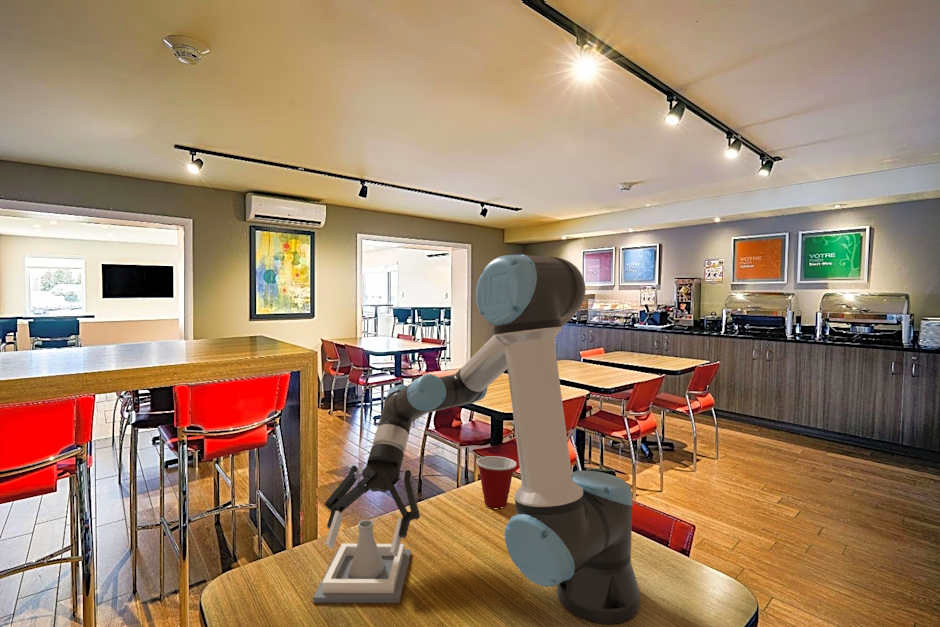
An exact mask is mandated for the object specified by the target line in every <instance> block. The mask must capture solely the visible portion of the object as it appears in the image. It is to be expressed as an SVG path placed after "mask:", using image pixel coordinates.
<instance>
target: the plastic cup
mask: <svg viewBox="0 0 940 627" xmlns="http://www.w3.org/2000/svg"><path fill="white" fill-rule="evenodd" d="M476 465H477V467H478V471H479V476H480V477H479V478H480V483H481V489H482V494H483V502H484V504H485V506H486V505H487V506H488V507H490V508H501V507H504V506H505V505H506V506H507V504H508V500H509V494H510V488H511V483H512V479H513V475H514V471H515V468H516V466H517V461H516V460H513V459H512V458H508V457H506V456H496V455H494V456H492V455H491V456H489V455H488V456H487V455H486V456H482V457H479V458H477V459H476ZM487 506H486V507H487ZM506 506H505V507H506ZM488 507H487V508H488ZM505 507H504V508H505ZM490 508H489V509H490Z"/></svg>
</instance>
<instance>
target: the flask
mask: <svg viewBox="0 0 940 627" xmlns="http://www.w3.org/2000/svg"><path fill="white" fill-rule="evenodd" d="M374 524H375V521H374V520H372V519H362V520H361V521H358V523H357V528H358V530H359V534H358V542H357V543H356V544H357V548H356V551H355V554H354V557H353V560H352V563H351V566H350V569H349V574H348V577H351V578H353V579H375V578H376V577H378V576H379V575H380V574H382V573H383V570H384V562H383V560H382V557H381V555H380V553H379V550H378V548H377V545H376V544H377V542H376V540H375V537H374V536H375V535H374V532H373V530H374V529H373V527H374Z"/></svg>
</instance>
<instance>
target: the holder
mask: <svg viewBox="0 0 940 627" xmlns="http://www.w3.org/2000/svg"><path fill="white" fill-rule="evenodd" d="M357 544H358V543H348V542H347V543H345V542H343V543H341V545H340V547H339V548H338V549H337V550H336V551H335V554H334V556H333V557H332V559H331V561H330V564H329V566H328V567H327V569H326V570H325V574H324V576H323V578H322V579H321V581H320V583H319V585H318V587H317V588H316V591H315V593H314V595H313V597H312V600H313V602H312V603H313V604H315V603H316V604H318V603H320V604H321V603H322V604H323V603H324V604H325V603H327V604H328V603H329V604H330V603H331V604H334V603H335V604H337V603H338V604H400V602H401V599H402V594H403V589H404V585H405V580H406V577H407V576H406V575H407V573H408V567H409V564H410V558H411V554H412V551H411V549H410V548H408V549H407V548H406V549H405V544H404V543H400V546H399V551H398V555H397V556H393V555H392V554H391V553H390V550H391V546H392V543H376V545H377V548H378V550H379V553H380V555H381V557H382V560H383V562H384V570H383V573H382V574H380V575H379V576H378V577H376V578H375V579H353V578H351V577H348V574H349V569H350V566H351V563H352V560H353V557H354V554H355V551H356V548H357Z"/></svg>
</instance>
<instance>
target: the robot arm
mask: <svg viewBox="0 0 940 627" xmlns="http://www.w3.org/2000/svg"><path fill="white" fill-rule="evenodd" d="M584 279H585V278H584V277H583V275H582V272H581V271H580V270H579V268H578V267H577V266H576V265H575V264H574V263H572V262H570V261H569V260H567V259H564V258H562V257H557V256H548V257H547V256H538V255H526V254H523V253H517V254H509V255H507V254H506V255H501V256H498V257H496V258H494V259H492V260H491V261H490V262H489V263H488V264H487V265H486V266H485V267H484V269H483V272H482V273H481V274H480V275H479V278H478V280H477V284H476V290H475V292H476V294H475V299H476V300H475V302H476V306H477V309H478V311H479V313H480V315H482V316H483V319H484V320H485V321H486V322H488V323H490V324H492V325H493V332H494V334H493V335H492V336H491V337H490V338H489V340H487V341H486V342H485V343H484V345H483V346H482V347H480V348H479V350H477V352H475V353H474V355H473V356H471V357H470V359H469V360H468V361H467V362H465V364H463V366H462V367H461V368H460V369H458V371H456V372H455V373H454V374H450V375H449V374H448V375H444V376H443V375H442V376H437V375H434V374H431V373H427V374H424V375H422V376H419V377H417V378H415V379H414V380H412V382H410V384H408V385H405V384H397V385H393V386H392V387H389V390H388V392H387V394H386V396H385V399H384V403H383V407H382V412H381V415H380V417H379V420H378V425H377V428H376V431H375V435H374V437H373V441H372V446H371V448H370V452H369V454H368V458H367V462H366V466H364V469H363V468H361V467H360V468H359V467H357V465H352V466H351V468H350V470H349V472H348V474H347V476H346V477H345V478H344V479H343V481H341V483H340V484H339V486H337V487H336V489H335V490H334V491H333V492H332V494H331V495H329V497H328V498H327V499H326V501H325V503H324V506H325V507H326V508H327V509H328V510H329V511H330V515H329V518H328V520H327V526H326V527H327V528H328V529H329V530H328V533H327V536H326V540H325V543H324V545H325V546H326V547H328V548H329V549H331V550H333V549H334V547H335V544H336V540H337V539H338V538H337V537H338V534H339V531H340V529H341V524H342V522H343V518H344V515H343V514H342V512H343V511H344V510H346V509H347V508H349V506H351V505H352V504H353V503H354V502H355V501H356V500H357V499H359V498H360V497H361V496H363V495H364V494H366V493H368V492H369V491H371V492H380V493H386V492H389V493H390V494H391V496H392V498H393V500H394V502H395V504H396V506H397V508H398V510H399V512H400V514H401V516H402V517H397V519H396V526H395V530H394V534H393V537H392V543H391V544H392V546H391V550H390V553H391V554H392V555H393V556H397V555H398V551H399V546H400V544H401V542H402V538H403V539H405V538H406V537H407V534H408V530H409V526H410V523H411V521H413V520H419V519H420V518H421V514H420V510H419V505H418V503H417V498H416V493H415V491H414V486H413V481H414V475H413V474H412V472H411V470H410V469H406V471H405V472H404V471H403V472H401V468H402V465H403V461H404V457H405V451H406V448H407V443H408V440H409V436H410V431H411V429H412V423H413V422H414V421H416V420H417V419H420V418H421V417H422V416H425V415H427V414H429V413H433V412H434V413H435V412H437V411H441V410H446V409H450V408H455V407H460V406H464V405H470V404H474V403H476V402H478V401H481V400H483V399H484V398H485V397H486V395H487V391H488V387H490V385H491V384H492V383H493V382H494V381H496V380H497V379H498V378H499V377H500V376H501V375H502V374H503V373H504V372H506V371H507V375H508V382H509V391H510V400H511V408H512V416H513V417H512V418H513V424H514V433H515V441H516V447H517V456H518V464H519V472H520V473H519V474H520V480H521V485H520V486H519V487H518V488H517V490H516V491H515V493H514V494H513V495H514V506H515V513H516V514H515V515H513V516H511V517H510V519H508V522H507V524H506V525H505V529H504V541H505V546H506V549H507V552H508V554H509V557H510V559H511V561H512V562H513V564H514V565H515V567H516V568H518V570H519V572H520V573H521V574H522V575H524V577H525V578H527V579H528V580H529V581H530V582H532V583H534V584H536V585H537V586H541V587H547V588H549V587H556V592H557V593H556V594H557V597H558V599H559V601H560V603H561V604H562V605H563V607H564V608H565V609H567V610H568V611H569V612H570V613H572V614H573V615H575V616H577V617H579V618H581V619H583V620H586V621H589V620H590V622H592V621H594V622H593V623H596V622H600V623H599V624H603V623H611V624H610V625H613V624H612V623H615V624H619V623H625V622H628V621H629V620H631V619H633V618H634V617H635V616H636V615H637V614H638V613H639V610H640V606H641V605H640V602H641V591H640V587H639V584H638V581H637V577H636V574H635V570H634V568H633V564H632V561H631V559H632V558H631V556H632V555H631V553H632V530H633V528H632V527H633V526H632V525H633V524H632V523H633V506H634V502H633V491H632V488H631V486H630V485H629V484H628V483H627V482H626V481H625V480H624V479H623V478H620V477H618V476H616V475H613V474H609V473H606V472H601V471H597V470H596V471H595V470H576V471H572V466H571V458H570V457H571V456H570V451H569V450H570V448H569V442H568V435H567V426H566V421H565V412H564V406H563V397H562V391H561V382H560V381H561V380H560V375H559V374H560V373H559V366H558V360H557V353H556V343H555V342H556V341H555V339H556V336H558V334H559V333H560V332H561V331H562V329H563V328H562V327H563V326H564V325H566V324H567V323H568V322H569V321H570V320H571V319H572V318H573V317H574V316H576V314H577V313H578V312H579V310H580V309H581V307H582V306H583V303H584V301H585V297H586V290H587V289H586V282H585V280H584ZM361 477H363V478H362V479H361V480H360V481H358V483H357V485H356V486H354V484H356V481H357V480H359V479H360V478H361ZM400 480H401V481H402V482H403V484H404V487H405V490H406V491H405V492H406V496H407V501H408V504H409V509H410V511H408V510H407V507H406V506H405V504H404V501H403V500H402V498H401V496H400V494H399V492H398V491H397V489H396V487H395V485H396V484H397V483H398V482H399V481H400ZM353 486H354V487H353ZM352 487H353V488H352ZM350 489H351V490H350Z"/></svg>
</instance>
